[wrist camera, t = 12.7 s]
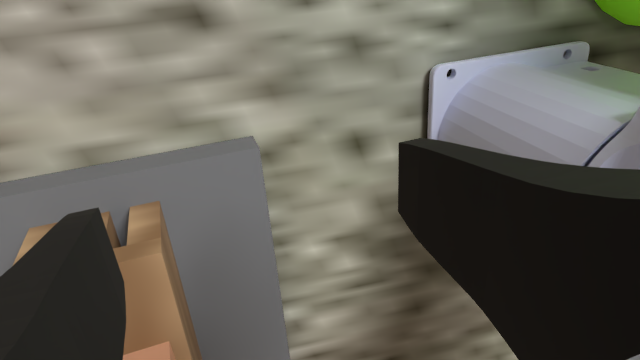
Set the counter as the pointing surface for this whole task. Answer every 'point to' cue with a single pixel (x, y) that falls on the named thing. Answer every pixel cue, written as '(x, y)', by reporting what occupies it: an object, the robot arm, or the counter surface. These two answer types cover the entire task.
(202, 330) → the dock
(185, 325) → the pallet
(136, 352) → the terracotta crate
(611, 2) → the wineglass
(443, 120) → the robot arm
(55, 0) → the counter surface
